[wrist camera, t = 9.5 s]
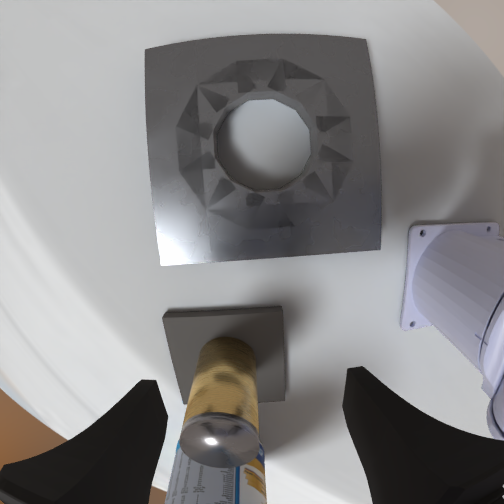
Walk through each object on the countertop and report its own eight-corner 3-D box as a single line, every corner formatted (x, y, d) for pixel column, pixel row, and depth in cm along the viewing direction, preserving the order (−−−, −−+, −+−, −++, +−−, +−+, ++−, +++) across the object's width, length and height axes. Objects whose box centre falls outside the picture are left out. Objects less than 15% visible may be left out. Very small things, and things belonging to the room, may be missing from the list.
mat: (281, 306, 20) (282, 311, 19) (283, 394, 22) (285, 400, 21) (165, 312, 20) (162, 317, 19) (185, 397, 22) (183, 404, 22)
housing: (355, 49, 16) (365, 39, 14) (368, 241, 19) (380, 249, 17) (154, 59, 16) (144, 49, 14) (169, 256, 19) (161, 265, 17)
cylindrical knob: (256, 336, 20) (260, 424, 12) (255, 381, 21) (258, 468, 13) (196, 336, 20) (173, 420, 12) (201, 380, 21) (185, 465, 13)
